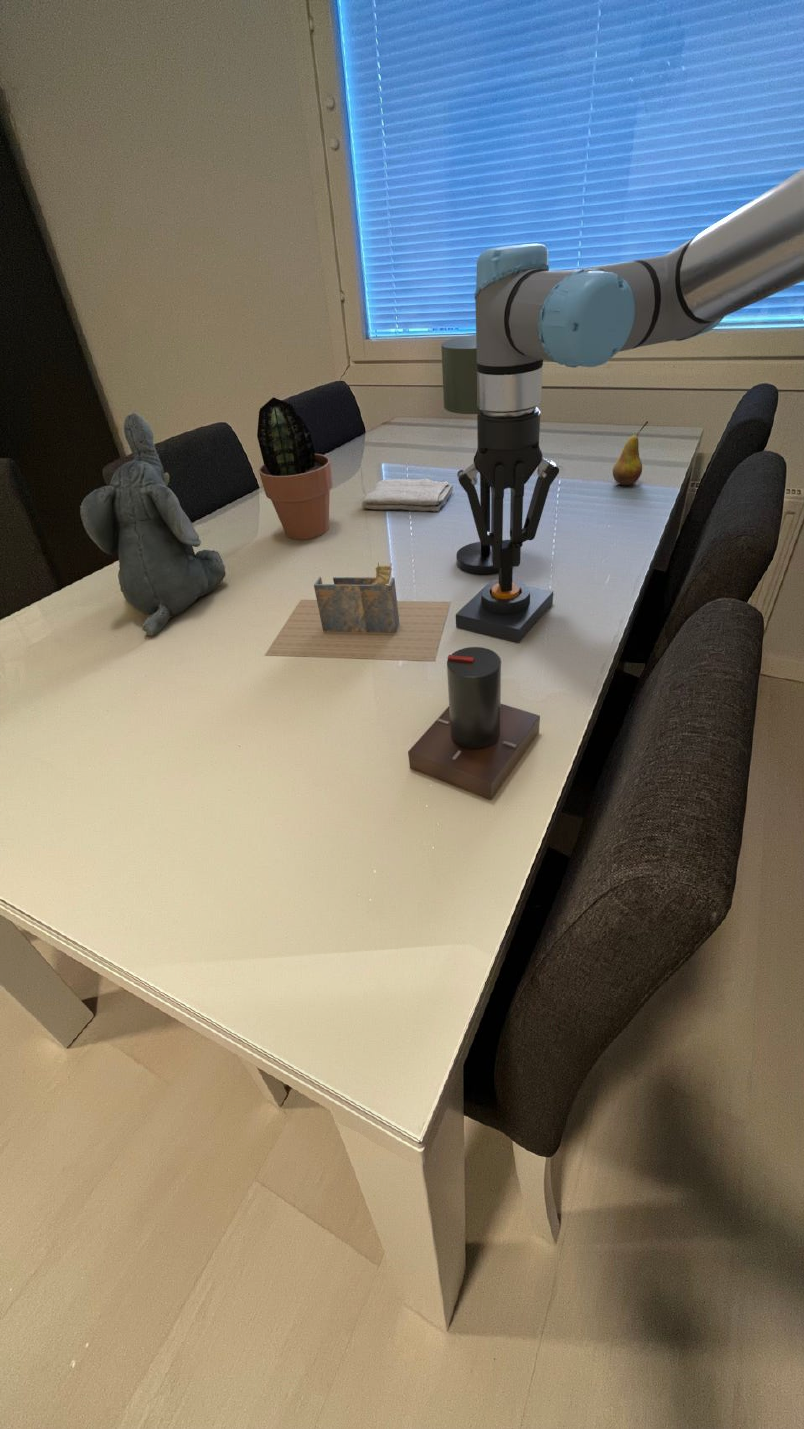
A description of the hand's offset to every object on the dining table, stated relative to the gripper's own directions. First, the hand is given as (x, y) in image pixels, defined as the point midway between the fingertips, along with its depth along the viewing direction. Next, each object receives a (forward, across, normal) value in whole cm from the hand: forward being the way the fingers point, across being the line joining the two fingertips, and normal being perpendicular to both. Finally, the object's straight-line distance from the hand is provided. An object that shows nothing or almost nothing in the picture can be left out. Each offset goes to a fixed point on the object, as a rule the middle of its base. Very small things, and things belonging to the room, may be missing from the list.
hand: (505, 586), depth 87 cm
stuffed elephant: (+5, +54, -16) cm, 57 cm away
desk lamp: (+5, 0, -18) cm, 19 cm away
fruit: (+5, -33, -49) cm, 59 cm away
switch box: (+5, 0, 0) cm, 5 cm away
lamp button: (+2, 0, 0) cm, 2 cm away
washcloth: (+5, +13, -52) cm, 53 cm away
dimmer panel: (+5, +8, +29) cm, 30 cm away
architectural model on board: (+5, +22, 0) cm, 22 cm away
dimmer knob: (+2, +8, +29) cm, 30 cm away
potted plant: (+5, +34, -41) cm, 53 cm away
